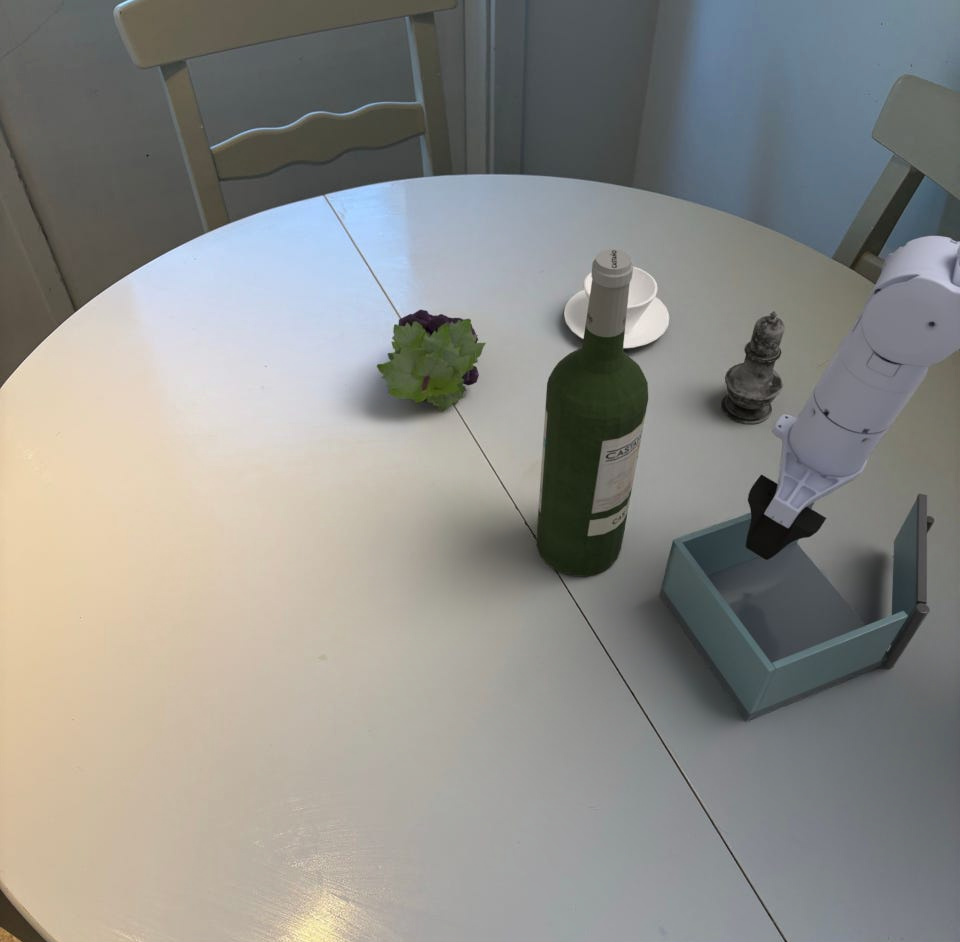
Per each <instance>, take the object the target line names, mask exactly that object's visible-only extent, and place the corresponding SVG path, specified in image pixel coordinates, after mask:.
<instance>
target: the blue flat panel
mask: <svg viewBox="0 0 960 942" xmlns="http://www.w3.org/2000/svg"><path fill="white" fill-rule="evenodd" d="M934 523H935V518H934V517H933V516H932V515H928V495H927V494H925V493H918V494H917V496H916V499H915V501H914V503H913V504H912V507H911V508H910V511H909V512H908V514H907V516H906V517H905V520H904V521H903V522H902V525H901V527H900V529H899V531H898V533H897V534H896V536H895V538H894V540H893V558H892V559H893V560H892V563H893V564H892V588H891V590H892V592H891V593H892V594H891V615H894V614H896V613H899V612H901V611H904V612H905V613H906V614H907V615H908V617H907V619H906V621H907V620H908V618H909V617H910V615H911V613H912V612H913V610H914V609H915V607H916V605H917V604H919V603H923V604H926V605H927V603H928V594H927V593H928V592H927V591H928V533H929V532H930V530H931V528H932V526H933V525H934ZM906 621H905V622H904V624H903V625H902V627H901V629H900V630H899V632H898V633H897V635H896V637H895V638H894V640H893V641H892V643H891V645H890V647H891V646H892V644H893V642H894V641H895V639H896V638H897V636H898V634H899V633H900V631H901V630H902V628H903V626H904V625H905V623H906Z"/></svg>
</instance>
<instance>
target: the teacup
mask: <svg viewBox="0 0 960 942" xmlns="http://www.w3.org/2000/svg"><path fill="white" fill-rule="evenodd" d="M591 284H592V271H590V272H589V273H588V274H587V275H586V277H585V278H584V280H583V289H582V290H580V291H578V292H576V293H575V294H573V296H571V297H570V298H569V300H568V301H567V303H566V304H565V306H564V311H563V312H564V313H563V316H564V321H565V323H566V325H567V326H568V328H569V330H570V331H571V332H572V333H574V334H575V335H576V336H577V337H579V338H580V339H582V340H583V338H584V332H585V325H586V318H587V311H588V305H589V298H590V291H591ZM658 290H659V289H658V284H657V281H656V280H655V278H654V277H653V276H652V275H651V274H650V273H648V272H647V271H645V270H644V269H642V268H639V267H636V266H633V273H632V279H631V281H630V285H629V295H628V305H627V315H626V325H625V335H624V345H623V349H635V348H639V347H644V346H646V345H648V344H651V343H653V342H655V341H657V340H658V339H659V338H660V337H662V336H663V335H664V334H665V333H666V330H667V329H668V327H669V325H670V314H669V310H668V308H667V306H666V305H665V304H664V303H663V302H662V300H661V299H659V297H657V293H658Z"/></svg>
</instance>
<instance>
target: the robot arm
mask: <svg viewBox="0 0 960 942" xmlns="http://www.w3.org/2000/svg"><path fill="white" fill-rule="evenodd" d="M958 351H960V241H959V240H953V239H952V237H948V236H943V235H925V236H920V237H917V238H914V239H911V240H909V241H907V242H906V243H905V245H904V246H899V247H898V248H897V249H896V250H895V251H894V252H892V253H889V254H887V256H886V257H885V260H884V263H883V265H882V268H881V273H880V275H879V277H878V279H877V281H876V282H875V284H874V287H873V289H872V290H871V292H870V294H869V296H868V298H867V300H866V302H865V305H864V308H863V310H862V311H861V312H860V313H859V315H858V316H857V318H856V320H855V321H854V323H853V325H852V327H851V329H850V330H849V331H848V332H847V333H846V334H845V335H844V337H843V338H842V341H840V344H839V346H838V347H837V349H836V351H835V352H834V354H833V356H832V357H831V359H830V361H829V363H828V364H827V366H826V368H825V369H824V371H823V373H822V374H821V376H820V378H819V380H818V381H817V383H816V384H815V387H814V388H813V390H812V392H811V394H810V396H809V397H808V399H807V401H805V404H804V405H803V408H802V409H801V411H800V413H799V414H798V415H797V417H794V416H792V415H791V414H788V413H783V414H782V415H780V416H779V418H778V419H777V421H776V422H775V423H774V425H773V427H772V429H771V432H772V435H774V437H776V438H778V439H780V441H781V443H782V444H781V451H780V452H781V453H780V461H779V469H778V478H777V482H776V481H774V480H772V479H770V478H769V477H767V476H765V475H764V474H760V475H759V477H758V478H757V479H756V481H755V482H754V483H753V485H751V488H750V489H749V492H748V496H747V503H748V506H749V509H750V513H751V523H750V527H749V531H748V535H747V540H746V548H747V549H749V550H751V551H752V552H754V553H755V554H757V555H759V556H760V557H762V558H764V559H765V560H769V559H770V558H772V557H773V556H775V555H776V554H777V553H779V552H780V551H781V550H782V549H783V548H785V547H786V546H787V545H788V544H790V543H791V542H793V541H795V540H798V539H799V540H801V539H806V538H811V537H812V536H814V535H815V534H816V533H817V532H819V531H820V529H821V527H823V524H824V523H825V521H826V519H827V517H826V516H824V515H822V514H821V513H819V512H817V511H815V510H814V509H810V508H808V507H807V506H808V505H810V504H812V503H816V502H817V501H819V500H820V499H822V498H824V497H826V496H828V495H830V494H831V493H834V492H835V491H837V490H839V489H840V488H843V487H844V486H846V485H847V484H849V483H852V482H853V481H854V480H857V478H858V477H859V476H861V473H862V472H863V471H864V469H865V468H866V466H867V464H868V463H867V462H868V459H869V457H870V456H871V454H872V453H873V452H874V450H875V448H876V447H877V446H878V444H879V443H880V442H881V440H882V439H883V437H884V436H885V435H886V433H887V432H888V430H889V429H890V428H891V427H892V425H893V423H894V422H895V420H896V419H897V418H898V417H899V415H900V414H901V412H902V411H903V409H904V408H905V407H906V405H907V404H908V402H909V401H910V400H911V398H912V397H913V395H914V394H915V392H916V391H917V389H918V388H919V387H920V385H921V384H922V383H923V382H924V380H925V379H926V376H927V375H928V371H929V367H930V366H933V365H935V364H938V363H940V362H942V361H944V360H945V359H947V358H948V357H950V356H951V355H953V354H955V352H958ZM799 540H798V541H799Z"/></svg>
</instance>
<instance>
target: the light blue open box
mask: <svg viewBox="0 0 960 942" xmlns="http://www.w3.org/2000/svg"><path fill="white" fill-rule="evenodd" d="M814 503H815V502H814ZM814 503H812V504H810V505H808V506H807V507H808V508H810V509H812V508H813V506H814ZM812 510H813V509H812ZM750 523H751V512H749V513H746V514H743V515H739V516H736V517H734V518H731V519H727V520H725V521H723V522H719V523H716V524H714V525H711V526H708V527H706V528H702V529H700V530H696V531H693V532H691V533H687V534H684V535H682V536H680V537H676V538H674V539H672V541H671V546H670V548H669V549H670V550H669V552H668V557H667V562H666V566H665V570H664V573H663V578H662V582H661V587H660V591H659V596H660V598H661V599H662V601H663V602H664V603H665V605H666V606H667V608H668V609H669V611H670V612H671V614H672V615H673V617H674V618H675V619H676V621H677V623H678V624H679V625H680V627H681V629H682V630H683V631H684V633H685V634H686V635H687V637H688V638H689V640H690V641H691V643H692V644H693V646H694V647H695V648H696V650H697V651H698V653H699V654H700V656H701V657H702V659H703V661H704V662H705V663H706V665H707V666H708V668H709V669H710V671H711V672H712V674H713V675H714V676H715V678H716V680H717V681H718V682H719V684H720V685H721V686H722V688H723V689H724V691H725V692H726V694H727V695H728V697H729V698H730V700H731V701H732V703H733V704H734V706H735V707H736V709H737V710H738V712H739V713H740V714H741V716H742V717H743V719H744V720H745V722H749V721H752V720H754V719H757V718H759V717H761V716H763V715H766V714H769V713H771V712H773V711H775V710H778V709H780V708H783V707H786V706H788V705H791V704H793V703H795V702H798V701H800V700H802V699H805V698H807V697H810V696H813V695H814V694H817V693H819V692H822V691H824V690H827V689H829V688H831V687H834V686H836V685H840V684H841V683H843V682H844V683H845V682H846V681H848V680H851V679H854V678H856V677H859V676H861V675H863V674H866V673H868V672H870V671H873V670H875V669H878V668H881V667H883V668H885V669H889V670H890V669H892V668H894V667H895V665H896V664H897V662H898V661H899V659H900V658H901V656H902V654H903V653H904V651H905V650H906V649H907V647H908V645H909V643H911V641H912V639H913V637H914V636H915V635H916V633H917V631H918V630H919V628H920V627H921V625H922V623H923V622H924V621H925V619H926V617H927V616H928V614H929V613H930V607H929V605H927V603H926V604H923V603H919V604H917V605H916V607H915V609H914V610H913V612H912V613H911V615H910V617H909V618H908V620H907V621H906V619H907V617H908V615H907V614H906V613H905V612H904V611H901V612H899V613H896V614H894V615H892V614H891V615H889V616H886V617H884V618H881V619H879V620H876V621H874V622H871V623H869V624H866V623H865V622H864V621H863V620H862V618H861V617H859V615H858V614H857V613H856V612H855V610H854V608H852V606H850V605H849V603H848V602H847V601H846V599H844V597H843V596H842V595H841V593H839V592H838V590H837V589H836V587H834V585H833V584H832V583H831V582H830V581H829V579H828V578H827V577H826V575H824V574H823V572H822V571H821V570H820V568H819V567H818V566H817V565H816V564H815V563H814V562H813V561H812V560H813V559H811V558H810V557H809V556H808V554H807V553H806V552H805V551H804V550H803V548H802V547H801V546H800V545H799V543H798V542H799V540H800V539H798V540H795V541H793V542H791V543H790V544H788V545H787V546H786V547H785V548H783V549H782V550H781V551H780V552H779V553H777V554H776V555H775V556H773V557H772V558H770V559H769V560H765V559H764V558H762V557H760V556H759V555H757V554H755V553H754V552H752V551H751V550H749V549H747V548H746V540H747V535H748V531H749V527H750ZM905 621H906V623H905V625H904V626H903V628H902V630H901V631H900V633H899V634H898V636H897V638H896V639H895V641H894V642H893V644H892V646H891V643H892V641H893V640H894V638H895V637H896V635H897V633H898V632H899V630H900V629H901V627H902V625H903V624H904V622H905Z"/></svg>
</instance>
